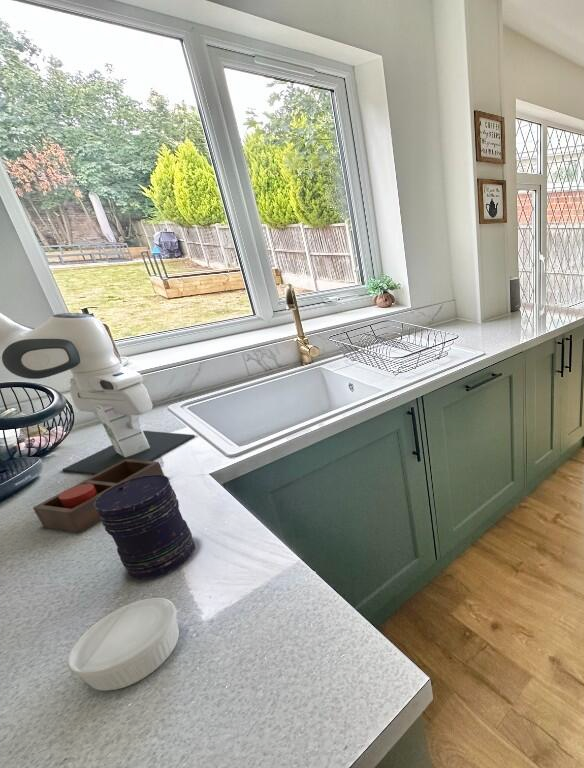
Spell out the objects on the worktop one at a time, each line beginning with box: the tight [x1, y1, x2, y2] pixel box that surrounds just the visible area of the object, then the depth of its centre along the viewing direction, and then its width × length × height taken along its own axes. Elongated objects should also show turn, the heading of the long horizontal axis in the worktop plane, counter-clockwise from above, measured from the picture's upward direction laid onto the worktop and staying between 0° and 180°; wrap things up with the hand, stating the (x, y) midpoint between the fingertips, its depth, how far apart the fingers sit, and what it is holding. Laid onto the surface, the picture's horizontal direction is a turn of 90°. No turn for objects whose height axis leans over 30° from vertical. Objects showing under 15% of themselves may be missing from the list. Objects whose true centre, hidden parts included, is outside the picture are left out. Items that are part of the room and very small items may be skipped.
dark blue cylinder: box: [94, 475, 196, 581], centre depth 72 cm, size 10×10×15 cm
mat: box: [61, 430, 195, 476], centre depth 110 cm, size 18×20×1 cm
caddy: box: [32, 459, 165, 534], centre depth 90 cm, size 10×18×5 cm, turn 169°
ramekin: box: [67, 597, 180, 692], centre depth 57 cm, size 11×11×5 cm
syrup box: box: [94, 405, 150, 457], centre depth 107 cm, size 6×6×14 cm
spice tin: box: [59, 484, 98, 509], centre depth 86 cm, size 5×5×6 cm
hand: (122, 426), depth 107 cm, fingers closed on syrup box, 6 cm apart
